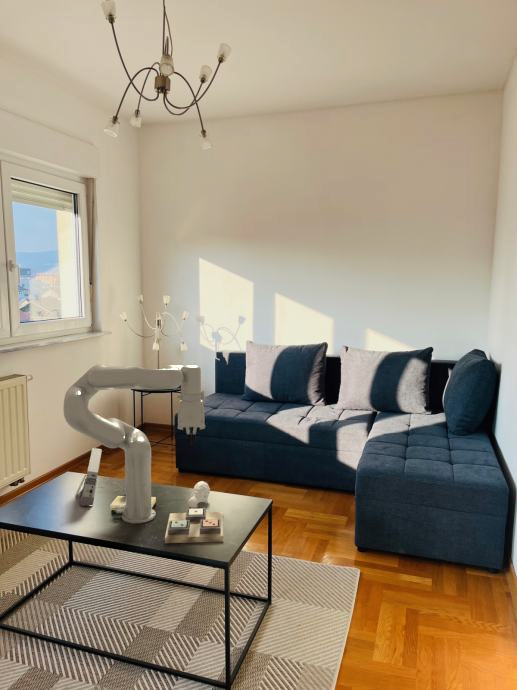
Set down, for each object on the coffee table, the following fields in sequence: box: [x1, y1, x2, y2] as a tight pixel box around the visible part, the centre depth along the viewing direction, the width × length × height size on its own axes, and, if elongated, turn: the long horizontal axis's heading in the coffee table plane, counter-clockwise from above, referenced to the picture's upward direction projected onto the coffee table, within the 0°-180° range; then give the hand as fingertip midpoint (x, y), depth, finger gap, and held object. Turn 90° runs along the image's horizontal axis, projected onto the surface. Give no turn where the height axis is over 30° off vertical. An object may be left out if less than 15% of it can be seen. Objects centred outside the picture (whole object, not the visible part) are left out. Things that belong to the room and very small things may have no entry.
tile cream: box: [188, 507, 204, 516], centre depth 199 cm, size 5×5×2 cm
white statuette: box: [187, 480, 211, 509], centre depth 215 cm, size 6×8×12 cm
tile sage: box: [171, 520, 187, 529], centre depth 189 cm, size 5×5×2 cm
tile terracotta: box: [203, 519, 218, 528], centre depth 190 cm, size 5×5×2 cm
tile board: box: [164, 507, 224, 544], centre depth 194 cm, size 20×20×4 cm
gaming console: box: [75, 447, 103, 507], centre depth 221 cm, size 23×8×20 cm, turn 14°
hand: (191, 443), depth 208 cm, fingers closed
